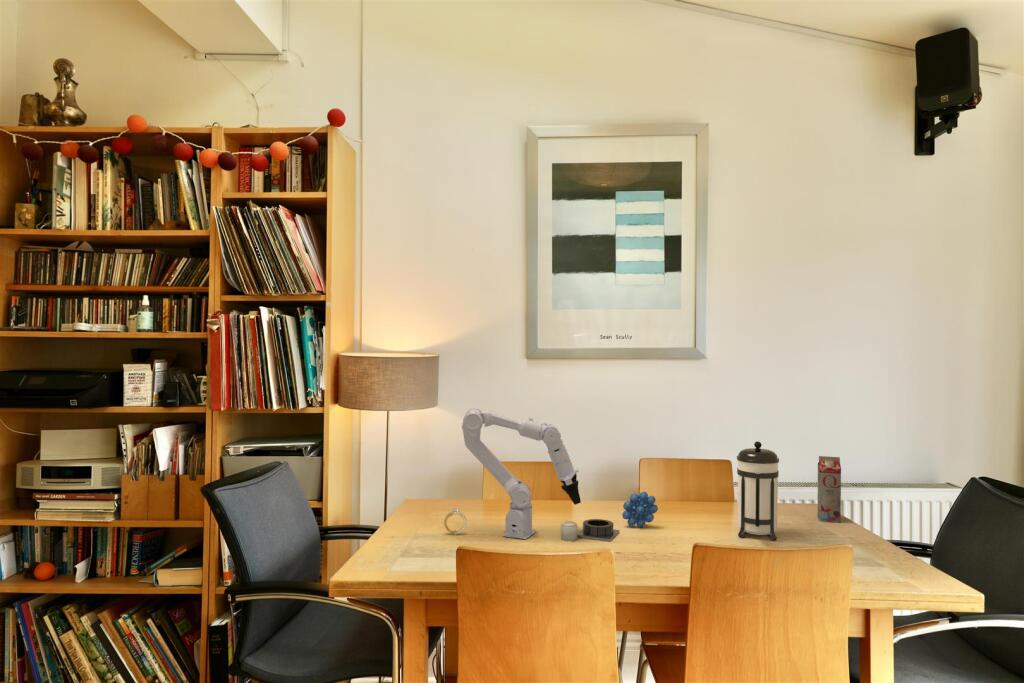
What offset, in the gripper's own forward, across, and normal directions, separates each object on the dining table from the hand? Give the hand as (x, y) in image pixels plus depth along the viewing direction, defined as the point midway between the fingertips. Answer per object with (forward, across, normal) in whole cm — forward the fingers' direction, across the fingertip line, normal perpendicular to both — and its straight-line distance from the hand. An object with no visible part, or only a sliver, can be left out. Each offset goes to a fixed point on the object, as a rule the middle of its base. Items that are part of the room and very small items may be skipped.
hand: (577, 500), depth 218 cm
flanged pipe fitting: (+12, -1, -2) cm, 13 cm away
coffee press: (+32, 0, -49) cm, 59 cm away
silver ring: (-5, -2, +40) cm, 41 cm away
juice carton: (+44, +21, -78) cm, 92 cm away
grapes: (+18, +9, -16) cm, 26 cm away
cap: (+9, -6, +7) cm, 13 cm away
